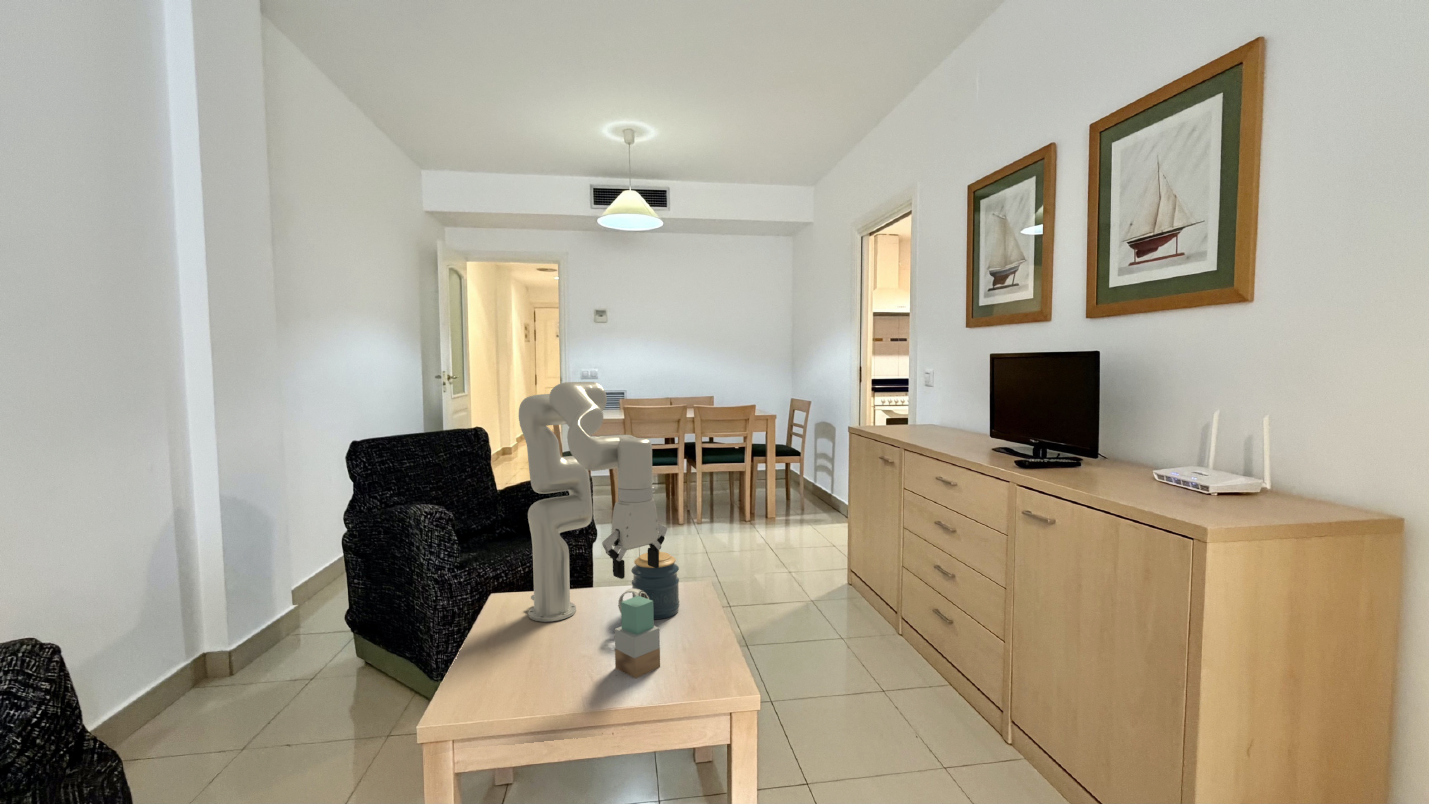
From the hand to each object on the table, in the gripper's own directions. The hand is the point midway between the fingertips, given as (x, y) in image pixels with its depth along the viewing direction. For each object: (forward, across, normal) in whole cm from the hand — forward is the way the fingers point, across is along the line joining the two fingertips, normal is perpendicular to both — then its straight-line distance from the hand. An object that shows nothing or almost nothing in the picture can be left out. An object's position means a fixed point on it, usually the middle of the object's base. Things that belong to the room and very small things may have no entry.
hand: (636, 571), depth 135 cm
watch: (+22, -11, -15) cm, 28 cm away
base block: (+22, 0, 0) cm, 22 cm away
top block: (+17, 0, 0) cm, 17 cm away
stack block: (+13, 0, 0) cm, 13 cm away
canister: (+22, -24, -22) cm, 39 cm away
